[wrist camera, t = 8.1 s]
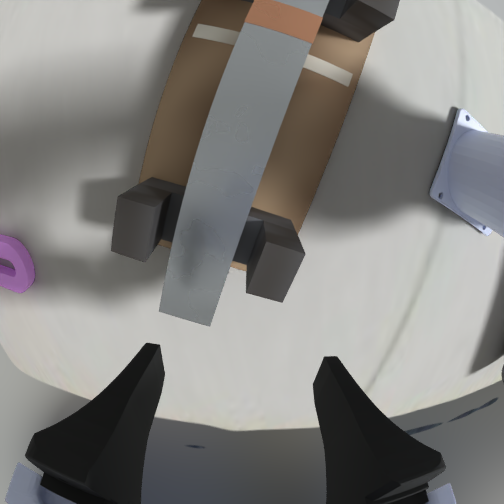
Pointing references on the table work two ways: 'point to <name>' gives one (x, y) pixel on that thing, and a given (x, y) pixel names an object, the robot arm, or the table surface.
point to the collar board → (284, 149)
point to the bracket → (15, 265)
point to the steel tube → (236, 151)
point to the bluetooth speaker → (503, 373)
